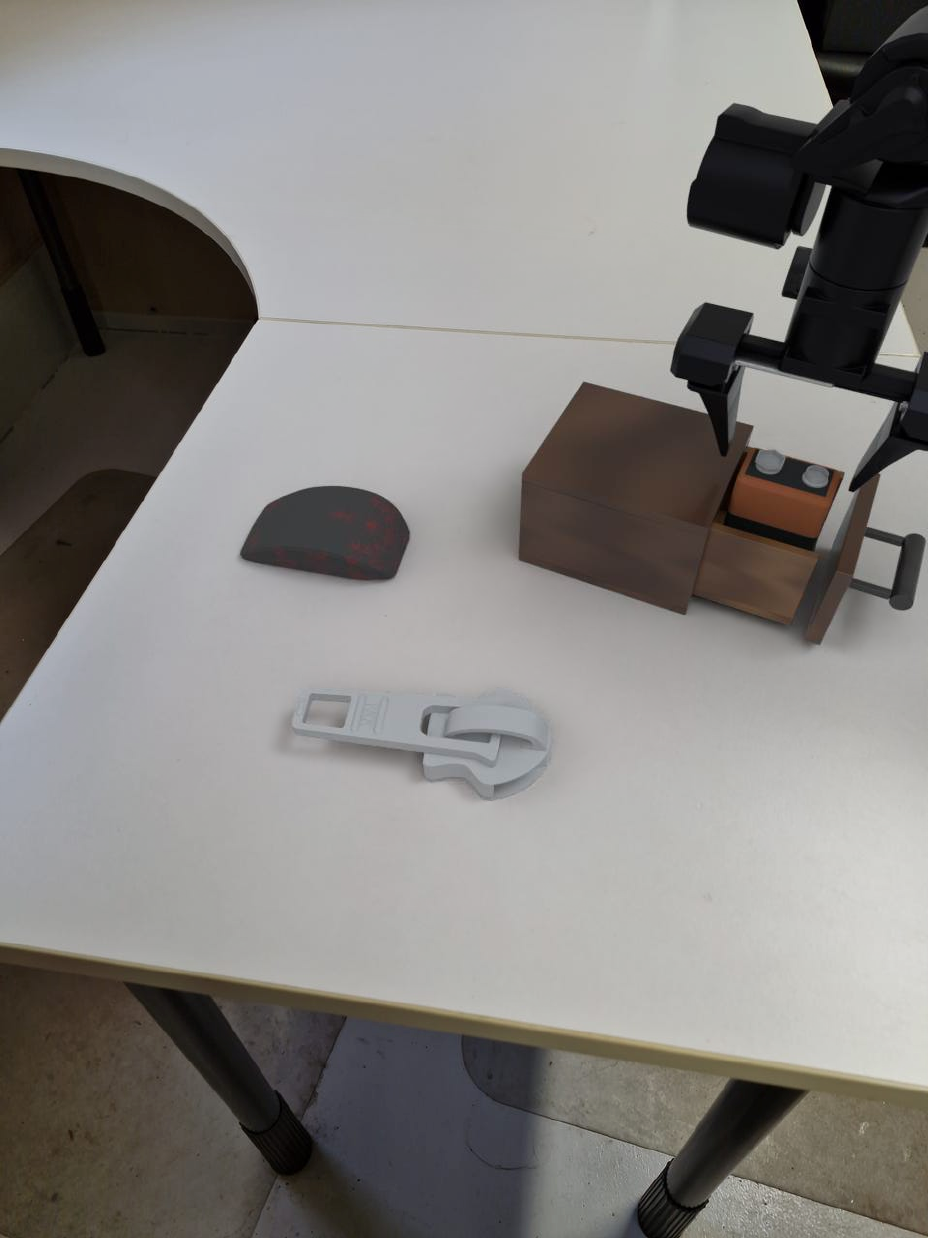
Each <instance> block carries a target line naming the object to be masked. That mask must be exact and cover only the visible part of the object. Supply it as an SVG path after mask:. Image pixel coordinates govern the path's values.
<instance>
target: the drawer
mask: <svg viewBox="0 0 928 1238" xmlns="http://www.w3.org/2000/svg"><path fill="white" fill-rule="evenodd" d="M752 448H753V447H752V446H749V445H748V446H746V448H745V450H744V453H743V455H742V457H741V460H740V462H739V464H738V467H737V469H736V471H735V474H734V476H733V478H732V480H731V483H730V485H729V487H728V490H727V492H726V494H725V497H724V499H723V501H722V504H721V506H720V508H719V510H718V513H717V515H716V517H715V520H714V522H713V524H712V527H711V529H710V532H709V535H708V539H707V543H706V546H705V550H704V553H703V557H702V561H701V564H700V568H699V571H698V575H697V578H696V582H695V586H694V589H693V593H692V594H693V595H694V596H697V597H700V598H703V599H705V600H708V601H711V602H715V603H719V604H722V605H724V606H727V607H731V608H734V609H736V610H740V611H743V612H746V613H749V614H752V615H754V616H755V615H756V616H759V617H762V618H765V619H768V620H769V621H770V620H771V621H772V622H773V621H774V622H776V623H780V624H782V625H786V626H791V624H792V622H793V619H794V617H795V614H796V613H797V610H798V608H799V605H800V603H801V601H802V599H803V597H804V593H805V592H806V590H807V587H808V585H809V582H810V580H811V578H812V575H813V573H814V570H815V568H816V566H817V564H818V561H819V558H820V553H818V552H815V551H816V546H817V544H818V541H819V538H820V535H821V533H822V531H823V528H824V526H825V524H826V522H827V519H828V516H829V514H830V511H831V510H832V507H833V504H834V502H835V499H836V497H837V494H838V492H839V491H840V488H841V486H842V482H843V480H844V477H845V474H846V472H845V471H842V470H838V471H839V472H840V475H841V476H840V480H839V483H838V486H837V489H836V491H835V494H834V497H833V500H832V503H831V506H830V509H829V511H828V513H827V516H826V518H825V521H824V523H823V525H822V528H821V530H820V533H819V535H818V537H817V540H816V542H815V545H814V547H813V549H812V551H808V550H805V549H802V548H798V547H795V546H792V545H788V544H785V543H781V542H778V541H775V540H771V539H768V538H765V537H761V536H758V535H755V534H751V533H748V532H744V531H741V530H738V529H734V528H731V527H728V526H724V525H723V523H724V520H725V516H726V513H727V509H728V506H729V503H730V499H731V496H732V492H733V489H734V486H735V482H736V479H737V476H738V474H739V472H740V470H741V468H742V465H743V463H744V461H745V459H746V456H747V454H748V452H749V450H750V449H752ZM880 481H881V473H880V472H879V473H878V474H877V475H876V476H874V477H873V478H872V479H870V480H869V481H868V482H867V483H865V484H864V485H863V486H861V487H860V488H859V489H858V490H856V491H855V492H854V494H853V496H852V498H851V501H850V503H849V505H848V508H847V510H846V512H845V515H844V516H843V518H842V521H841V524H840V526H839V528H838V530H837V532H836V535H835V537H834V539H833V543H832V545H831V549H830V552H829V555H828V559H827V563H826V565H825V568H824V572H823V575H822V579H821V582H820V585H819V589H818V592H817V597H816V599H815V603H814V606H813V608H812V613H811V616H810V619H809V622H808V626H807V629H806V632H805V635H804V641H806V642H808V643H812V644H814V645H817V646H820V645H821V644H822V642H823V640H824V638H825V636H826V633H827V632H828V630H829V628H830V625H831V624H832V621H833V619H834V617H835V616H836V613H837V611H838V610H839V607H840V605H841V602H842V601H843V599H844V597H845V595H846V592H847V590H848V589H851V590H855V591H857V592H860V593H864V594H867V595H870V596H874V597H877V598H881V599H884V600H886V601H888V604H889V606H890V607H891V608H892V609H894V610H896V611H901V612H902V611H903V612H905V611H908V610H911V609H912V608H913V606H914V603H915V598H916V594H917V589H918V584H919V578H920V574H921V569H922V564H923V559H924V554H925V550H926V545H927V540H926V537H924V535H922V534H920V533H916V532H914V533H912V532H911V533H908V534H906V535H905V536H902V535H898V534H895V533H892V532H888V531H885V530H881V529H877V528H874V527H870V526H868V523H869V520H870V516H871V512H872V509H873V505H874V502H875V498H876V495H877V494H876V493H877V490H878V487H879V483H880ZM864 538H868V539H872V540H875V541H879V542H883V543H885V544H889V545H893V546H897V547H899V548H900V549H899V550H900V551H899V555H898V560H897V563H896V564H897V565H896V569H895V573H894V577H893V582H892V586H891V588H889V587H885V586H882V585H878V584H876V583H871V582H868V581H865V580H862V579H858V578H855V577H854V575H855V571H856V569H857V564H858V560H859V558H860V557H859V556H860V553H861V550H862V546H863V543H864Z"/></svg>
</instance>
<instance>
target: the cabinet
mask: <svg viewBox="0 0 928 1238" xmlns="http://www.w3.org/2000/svg"><path fill="white" fill-rule="evenodd" d="M754 428H755V426H754V425H753V424H750V423H746V422H742V421H737V420H736V426H735V432H734V436H733V439H732V442H731V446H730V449H729V451H728V454H727V456H726V457H723V456H721V455H720V451H719V448H718V444H717V440H716V436H715V433H714V429H713V426H712V422H711V419H710V417H709V415H708V412H707V413H706V412H704V411H703V412H702V411H699V410H696V409H691V408H687V407H684V406H680V405H677V404H673V403H667V402H665V401H660V400H657V399H653V398H649V397H645V396H641V395H637V394H635V393H629V392H626V391H622V390H618V389H615V388H611V387H607V386H603V385H599V384H595V383H591V382H588V381H582V383H581V384H580V386H579V388H578V389H577V391H576V392H575V393H574V395H573V396H572V398H571V399H570V401H569V402H568V404H567V405H566V407H565V408H564V410H563V411H562V413H561V414H560V416H559V417H558V419H557V421H556V422H555V423H554V425H553V426H552V428H551V430H550V431H549V432H548V434H547V435H546V436H545V438H544V440H543V441H542V442H541V444H540V446H539V447H538V449H537V450H536V452H535V453H534V454H533V456H532V457H531V459H530V461H529V462H528V463H527V465H526V466H525V468H524V470H523V471H522V472H521V487H520V488H521V489H520V513H519V515H520V516H519V535H518V536H519V537H518V560H519V561H521V562H524V563H528V564H531V565H534V566H537V567H539V568H542V569H545V570H548V571H551V572H555V573H558V574H560V575H564V576H566V577H569V578H572V579H574V580H575V579H576V580H577V581H581V582H585V583H588V584H590V585H593V586H596V587H599V588H603V589H605V590H609V591H612V592H615V593H617V594H621V595H624V596H626V597H630V598H633V599H635V600H639V601H641V602H644V603H648V604H651V605H653V606H657V607H659V608H662V609H666V610H668V611H671V612H673V613H674V612H675V613H677V614H680V615H683V616H686V614H687V613H688V610H689V607H690V606H691V602H692V600H693V598H694V596H695V595H693V594H692V593H693V589H694V586H695V582H696V578H697V575H698V571H699V568H700V564H701V561H702V557H703V553H704V550H705V546H706V543H707V539H708V535H709V532H710V529H711V527H712V524H713V522H714V520H715V517H716V515H717V513H718V510H719V508H720V506H721V504H722V501H723V499H724V497H725V494H726V492H727V490H728V487H729V485H730V483H731V480H732V478H733V476H734V474H735V471H736V469H737V467H738V464H739V462H740V460H741V457H742V455H743V453H744V450H745V448H746V446H748V447H749V445H750V440H751V437H752V434H753V431H754Z"/></svg>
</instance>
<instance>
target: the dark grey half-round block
mask: <svg viewBox="0 0 928 1238" xmlns="http://www.w3.org/2000/svg"><path fill="white" fill-rule="evenodd" d="M410 534H411V532H410V528H409V526H408V524H407V522H406V520H405V518H404V516H403V514H402V513H401V511H400V510H399V509H398V508H397V506H396V505H395V504H394V503H392V502H391V500H389V499H387V498H385V497H384V496H383V495H380V494H378V493H377V492H373V491H370V490H367V489H364V488H359V487H352V486H345V485H319V486H311V487H306V488H302V489H299V490H296V491H293V492H290V493H287V494H286V495H283V496H281V497H279V498H277V499H275V500H272V501H271V502H269V503H267V504H266V505H265V507H264V508H263V509H262V510H261V512H260V513H259V515H258V517H257V518H256V520H255V522H254V523H253V525H252V527H251V529H250V531H249V533H248V534H247V537H246V538H245V541H244V543H243V545H242V547H241V549H240V552H239V555H240V558H241V559H243V560H246V561H250V562H255V563H260V564H265V565H272V566H275V567H276V566H277V567H282V568H289V569H295V570H300V571H307V572H314V573H319V574H325V575H331V576H335V577H336V576H337V577H343V578H349V579H356V580H384V579H391V578H394V577H395V576H396V575H397V573H398V570H399V567H400V565H401V562H402V560H403V556H404V554H405V551H406V549H407V547H408V544H409V542H410V537H411V535H410Z"/></svg>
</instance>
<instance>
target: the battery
mask: <svg viewBox="0 0 928 1238" xmlns="http://www.w3.org/2000/svg"><path fill="white" fill-rule="evenodd" d="M839 471H840V470H838V469H835V468H833V467H829V466H826V465H822V464H818V463H815V462H812V461H808V460H803V459H800V458H796V457H792V456H789V455H785V454H782V453H781V452H779V451H777V449H774V448H773V449H771V448H770V449H763V448H759V447H752V449H750V450H749V452H748V454H747V456H746V459H745V461H744V463H743V465H742V468H741V470H740V472H739V474H738V476H737V479H736V482H735V486H734V489H733V492H732V496H731V499H730V503H729V506H728V509H727V513H726V516H725V520H724V523H723V525H724V526H728V527H731V528H734V529H738V530H741V531H744V532H748V533H751V534H755V535H758V536H761V537H765V538H768V539H771V540H775V541H778V542H781V543H785V544H788V545H792V546H795V547H798V548H802V549H805V550H808V551H812V549H813V547H814V545H815V542H816V540H817V537H818V535H819V533H820V530H821V528H822V525H823V523H824V521H825V518H826V516H827V513H828V511H829V509H830V506H831V503H832V500H833V497H834V494H835V491H836V489H837V486H838V483H839V480H840V476H841V475H840V472H839ZM830 510H831V509H830ZM829 512H830V511H829ZM827 517H828V516H827ZM825 522H826V521H825ZM824 524H825V523H824ZM822 529H823V528H822ZM820 534H821V533H820ZM819 536H820V535H819Z"/></svg>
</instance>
